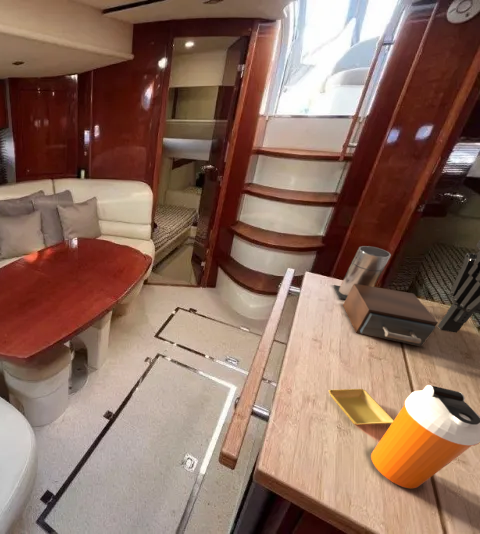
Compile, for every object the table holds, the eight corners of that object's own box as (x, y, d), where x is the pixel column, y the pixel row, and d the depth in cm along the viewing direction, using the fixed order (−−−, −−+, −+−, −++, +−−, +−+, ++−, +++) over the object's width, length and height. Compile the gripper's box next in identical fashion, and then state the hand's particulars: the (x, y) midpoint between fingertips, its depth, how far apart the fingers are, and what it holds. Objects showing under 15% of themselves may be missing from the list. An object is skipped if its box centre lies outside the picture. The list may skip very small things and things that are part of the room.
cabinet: (420, 346, 86) (438, 322, 82) (355, 332, 91) (369, 309, 87) (399, 315, 98) (413, 293, 93) (342, 305, 103) (353, 283, 99)
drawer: (429, 356, 81) (444, 337, 78) (365, 342, 86) (376, 324, 83) (401, 317, 95) (412, 299, 92) (348, 307, 100) (357, 290, 97)
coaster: (363, 291, 110) (364, 290, 109) (372, 305, 103) (372, 304, 102) (333, 286, 113) (333, 284, 113) (339, 299, 106) (340, 298, 106)
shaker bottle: (381, 487, 56) (443, 422, 46) (355, 440, 64) (404, 375, 54) (440, 500, 54) (518, 435, 44) (406, 450, 62) (467, 385, 52)
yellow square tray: (392, 428, 66) (397, 422, 65) (352, 429, 66) (356, 424, 65) (359, 394, 73) (363, 388, 72) (324, 395, 73) (327, 389, 72)
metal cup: (362, 290, 109) (385, 248, 101) (370, 303, 103) (395, 259, 94) (335, 285, 112) (355, 244, 104) (341, 297, 106) (363, 254, 97)
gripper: (577, 252, 51) (488, 353, 63) (521, 225, 61) (453, 316, 73) (513, 245, 54) (439, 343, 66) (469, 220, 64) (412, 309, 76)
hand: (446, 329), depth 69 cm, fingers closed
